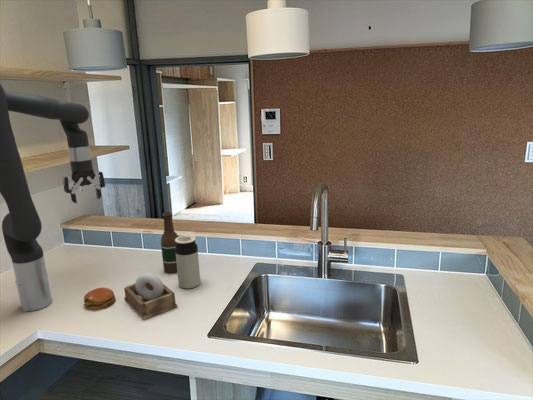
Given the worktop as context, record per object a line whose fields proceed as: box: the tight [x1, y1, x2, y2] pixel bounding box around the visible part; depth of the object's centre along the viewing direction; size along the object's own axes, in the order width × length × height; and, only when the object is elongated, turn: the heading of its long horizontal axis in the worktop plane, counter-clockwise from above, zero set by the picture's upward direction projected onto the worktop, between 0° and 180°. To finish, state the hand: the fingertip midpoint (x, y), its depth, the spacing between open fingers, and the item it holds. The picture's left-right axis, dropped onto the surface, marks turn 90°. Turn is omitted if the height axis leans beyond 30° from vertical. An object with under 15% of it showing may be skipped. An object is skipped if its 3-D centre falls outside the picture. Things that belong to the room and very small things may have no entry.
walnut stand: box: [123, 282, 178, 321], centre depth 138 cm, size 12×17×5 cm
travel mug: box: [175, 234, 201, 289], centre depth 149 cm, size 8×8×18 cm
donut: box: [135, 272, 164, 301], centre depth 137 cm, size 10×4×10 cm, turn 77°
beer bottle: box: [160, 211, 179, 275], centre depth 161 cm, size 8×8×24 cm
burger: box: [83, 287, 116, 311], centre depth 139 cm, size 10×9×5 cm
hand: (87, 200), depth 156 cm, fingers open, 8 cm apart
